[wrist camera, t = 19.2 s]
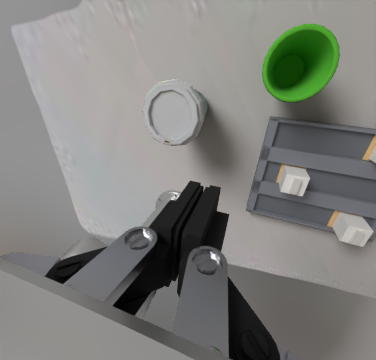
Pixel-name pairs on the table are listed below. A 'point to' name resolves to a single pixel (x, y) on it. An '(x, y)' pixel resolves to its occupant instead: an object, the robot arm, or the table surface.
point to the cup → (300, 63)
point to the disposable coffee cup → (174, 112)
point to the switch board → (316, 173)
